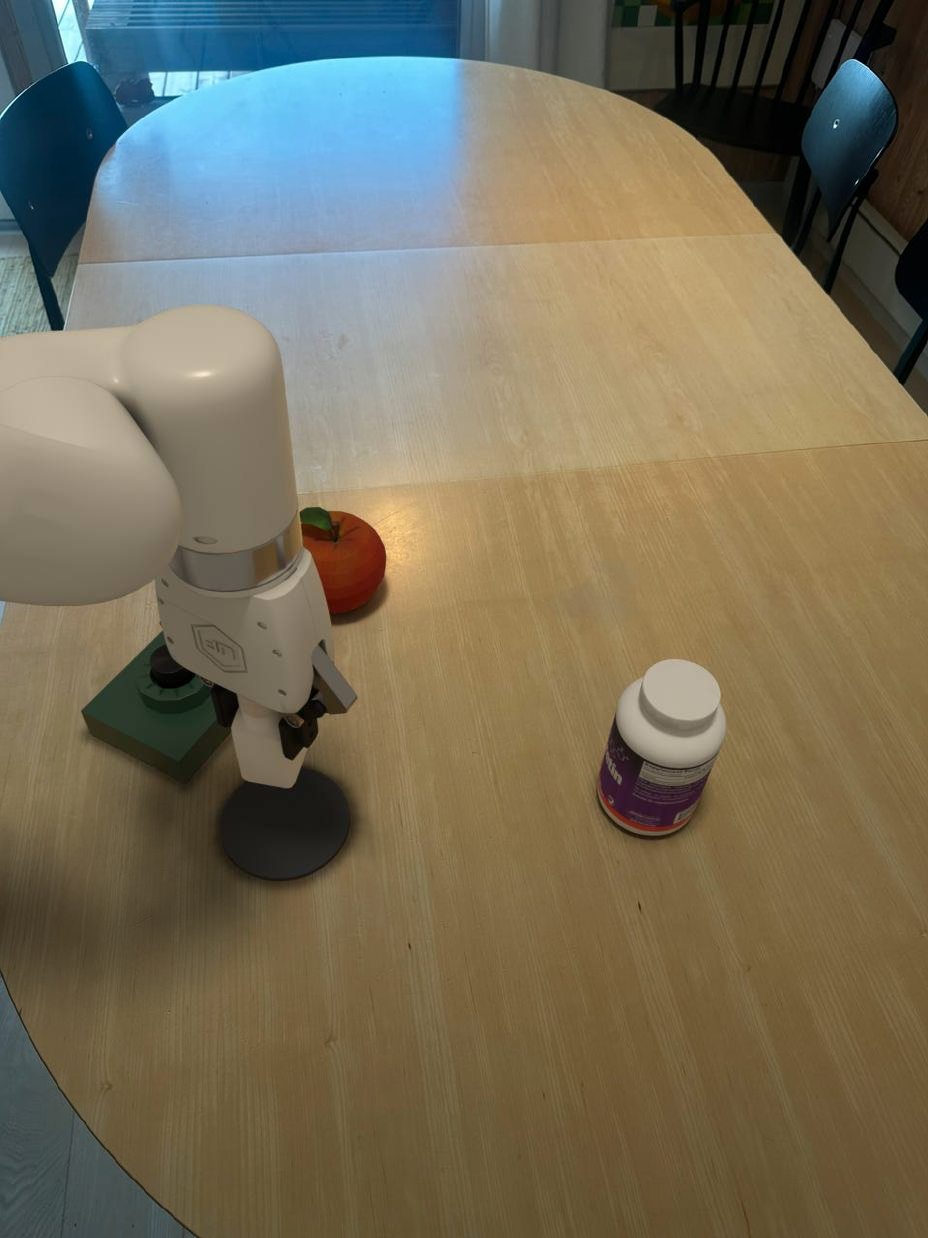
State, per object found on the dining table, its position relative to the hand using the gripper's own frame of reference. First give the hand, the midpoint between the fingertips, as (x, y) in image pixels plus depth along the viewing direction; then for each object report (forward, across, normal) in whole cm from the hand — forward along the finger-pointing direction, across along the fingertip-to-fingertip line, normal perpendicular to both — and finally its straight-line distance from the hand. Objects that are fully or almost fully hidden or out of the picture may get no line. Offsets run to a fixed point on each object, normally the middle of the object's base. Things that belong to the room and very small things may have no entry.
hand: (268, 726), depth 67 cm
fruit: (+13, -10, +23) cm, 28 cm away
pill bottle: (+13, +24, +16) cm, 32 cm away
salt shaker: (+5, 0, 0) cm, 5 cm away
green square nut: (+13, -14, +5) cm, 20 cm away
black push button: (+8, -14, +5) cm, 17 cm away
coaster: (+13, 0, 0) cm, 13 cm away
